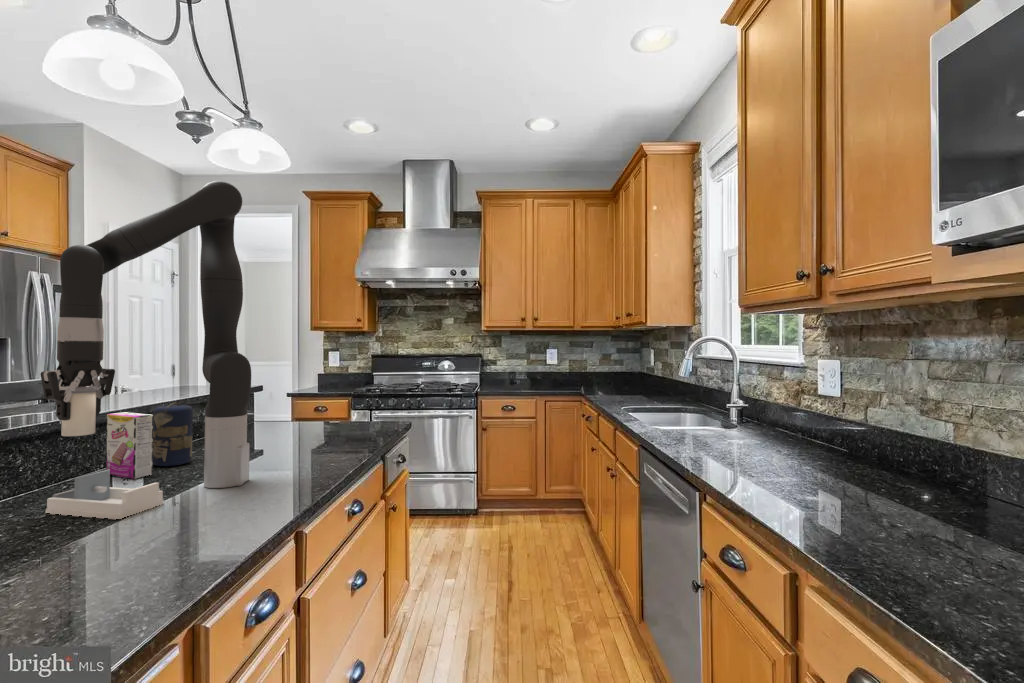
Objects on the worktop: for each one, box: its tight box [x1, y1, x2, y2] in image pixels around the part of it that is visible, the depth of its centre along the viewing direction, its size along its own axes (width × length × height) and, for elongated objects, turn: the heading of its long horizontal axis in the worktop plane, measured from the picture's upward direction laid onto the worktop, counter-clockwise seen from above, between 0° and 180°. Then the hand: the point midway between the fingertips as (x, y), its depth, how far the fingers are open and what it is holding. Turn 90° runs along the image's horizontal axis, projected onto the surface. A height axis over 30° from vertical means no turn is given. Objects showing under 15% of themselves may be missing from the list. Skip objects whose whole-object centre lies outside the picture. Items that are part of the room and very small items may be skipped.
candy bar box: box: [105, 411, 154, 480], centre depth 131 cm, size 11×5×16 cm, turn 71°
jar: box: [60, 386, 97, 437], centre depth 106 cm, size 6×6×10 cm
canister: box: [152, 402, 194, 467], centre depth 144 cm, size 10×10×18 cm
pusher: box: [73, 469, 111, 501], centre depth 105 cm, size 3×7×6 cm, turn 170°
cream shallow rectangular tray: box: [45, 482, 165, 520], centre depth 105 cm, size 18×10×5 cm, turn 80°
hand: (78, 417), depth 106 cm, fingers closed on jar, 5 cm apart
